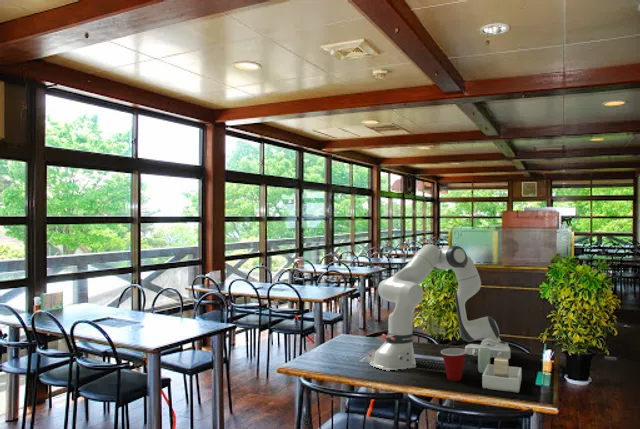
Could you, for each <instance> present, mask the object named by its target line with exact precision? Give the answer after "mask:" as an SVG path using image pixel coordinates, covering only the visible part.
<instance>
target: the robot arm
mask: <svg viewBox="0 0 640 429" xmlns="http://www.w3.org/2000/svg"><path fill="white" fill-rule="evenodd" d="M433 270H437V271H443V270H452V271H453V272H454V274H455V275H454V276H455V278H456V281H457V290H456V291H455V293H454V300H455V301H454V302H455V308H456V314H457V319H458V325H459V326H458V328H459V335H460V337H461V340H463V341H465V342H467V343H469V344H467V345H465V348H464V349H465V350H466V351H467V353H466V355H472V356H473V357H478V348H489V349H490V359H493V358H494V359H495V357H499V358H508V360H509V359H511V347H510V346H509V343H507V342H503V341H501V338H500V335H501V332H500V327H499V325H498V322H497V321H496V320H495V319H494V318H492V316H490V315H489V316H484V317H480V318H476V319H472V320H468V317H467V311H466V302H467V301H468V300H469V299H471V298H472V297H473V296H474V295H476V294H477V293H478V292H479V291H480V289H481V287H482V280H481V276H480V274H479V272H478V269H477V267H476V265H475V263H474V261H473V259H472V258H471V257H470V256H468V254H467V253H466V250H465V249H464V248H462V247H461V246H459V245H451V246H444V247H442V248H438V247H437V246H436V245H434V244H431V243H430V244H429V243H428V244H425V245H424V246H423V247H420V249H419V250H418V251H417V252H416V253H415V254H414V255H413V256H412V258H410V260H409V261H408V263H406V265H405V266H404V267H403V268H402V269H400V270H399V271H398V272H396V273H395V274H393V275H392V276H390V277H388V278H385V279H383V280H382V281H380V282H379V284H378V287H377V293H378V295H379V297H380V298H382V299H383V300H385V301H387V302H390V303H394V304H395V306H394V309H393V312H390V314H389V315H388V320H387V321H388V324H387V326H388V332H387V334H384V333H382V334H381V339H384V340H385V341H384V343H382V345H381V346H379V348H378V349H377V350H376V351H375V353H374V360H372V361H370V362H369V364H370V365H371V366H373V367H372V368H374V367H376V368H379V369H382V370H381V371H383V370H386V371H385V372H391V371H390V370H395V371H399V370H398V369H401V370H406V369H407V368H408V369H414V368H416V367H417V365H416V364H417V362H416V358H415V352H414V350H415V349H414V346H413V342H414V333H413V317H414V314H415V310H416V307H418V305H419V304H421V302H422V301H423V299H424V289H423V287H422V286H421V285H420V284H422V283H423V282H424V281H425V280H426V279H427V277H428V276H429V275H430V274H431V273H432V271H433ZM477 340H481V343H480V344H475V343H472V342H474V341H477ZM370 365H369V366H370ZM371 366H370V367H371ZM376 368H375V369H376ZM379 369H378V370H379Z"/></svg>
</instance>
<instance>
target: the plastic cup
mask: <svg viewBox="0 0 640 429" xmlns="http://www.w3.org/2000/svg"><path fill="white" fill-rule="evenodd" d="M466 353H467V351H466V350H465V348H460V347H448V348H443V349H441V350H440V354H441V355H442V357H443V362H444V363H443V364H444V368H445V373H446V378H447V380H448V381H454V382H457V381H458V382H460V381H461V380H462V378H463V372H464V365H465V359H466V355H467V354H466Z"/></svg>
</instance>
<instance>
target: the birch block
mask: <svg viewBox="0 0 640 429" xmlns="http://www.w3.org/2000/svg"><path fill="white" fill-rule="evenodd" d="M493 365H494V376H496V377H504V378H509V366H510V365H509V359H508V358H499V357H495V358H494V361H493Z"/></svg>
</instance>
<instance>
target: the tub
mask: <svg viewBox="0 0 640 429" xmlns="http://www.w3.org/2000/svg"><path fill="white" fill-rule="evenodd" d="M522 375H523V374H522V367H518V366H510V365H509V378H504V377H496V376H494V364H491V363H490V364H487V366H486V368H485V371H484V373H482V375H481V376H482V377H481V379H482V381H481V383H482V386H481V387H482V389H486V388H487V389H488V390H493V391H494V390H496V391H502V392H509V393H516V394H517V393H519V392H520V389H521V384H522Z"/></svg>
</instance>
